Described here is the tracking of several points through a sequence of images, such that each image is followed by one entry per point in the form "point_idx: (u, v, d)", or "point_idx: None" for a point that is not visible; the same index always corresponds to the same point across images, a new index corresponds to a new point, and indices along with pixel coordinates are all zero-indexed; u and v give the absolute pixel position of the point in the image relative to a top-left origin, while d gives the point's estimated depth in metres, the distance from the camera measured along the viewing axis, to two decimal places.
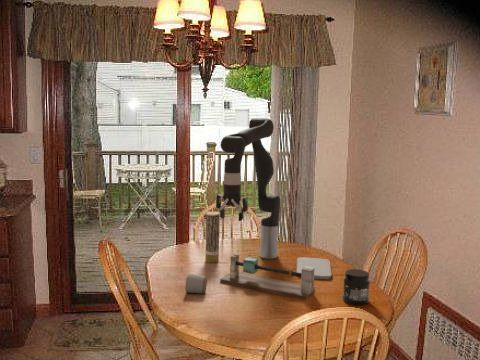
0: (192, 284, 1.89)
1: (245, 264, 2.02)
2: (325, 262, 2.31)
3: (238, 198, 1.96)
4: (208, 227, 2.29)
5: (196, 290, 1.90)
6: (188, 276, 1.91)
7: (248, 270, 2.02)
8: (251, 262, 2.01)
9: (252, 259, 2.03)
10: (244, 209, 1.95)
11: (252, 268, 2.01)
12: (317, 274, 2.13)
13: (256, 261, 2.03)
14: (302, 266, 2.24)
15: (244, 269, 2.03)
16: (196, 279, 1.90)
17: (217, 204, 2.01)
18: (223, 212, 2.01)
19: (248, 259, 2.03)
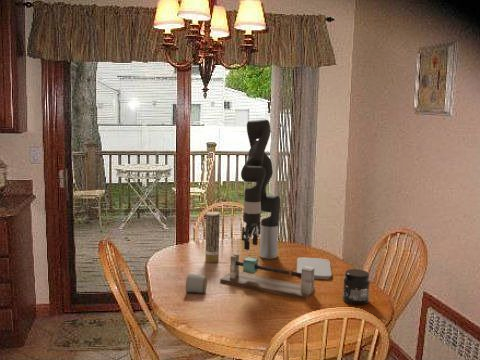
0: (192, 284, 1.89)
1: (245, 264, 2.02)
2: (325, 262, 2.31)
3: (257, 224, 2.04)
4: (208, 227, 2.29)
5: (196, 290, 1.90)
6: (188, 276, 1.91)
7: (248, 270, 2.02)
8: (251, 262, 2.01)
9: (252, 259, 2.03)
10: (259, 232, 2.07)
11: (252, 268, 2.01)
12: (317, 274, 2.13)
13: (256, 261, 2.03)
14: (302, 266, 2.24)
15: (244, 269, 2.03)
16: (196, 279, 1.90)
17: (247, 237, 1.96)
18: None
19: (248, 259, 2.03)
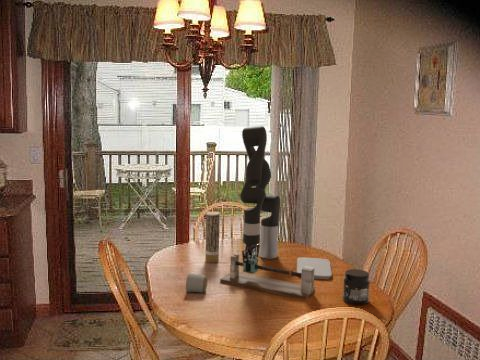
0: (192, 283, 1.90)
1: (245, 264, 2.02)
2: (325, 262, 2.31)
3: (256, 245, 2.06)
4: (208, 227, 2.29)
5: (196, 289, 1.90)
6: (188, 275, 1.92)
7: None
8: (251, 262, 2.01)
9: (252, 259, 2.03)
10: (257, 255, 2.07)
11: (252, 268, 2.01)
12: (318, 274, 2.13)
13: (256, 261, 2.03)
14: (302, 266, 2.24)
15: (244, 269, 2.03)
16: (196, 279, 1.91)
17: (248, 259, 1.98)
18: None
19: None
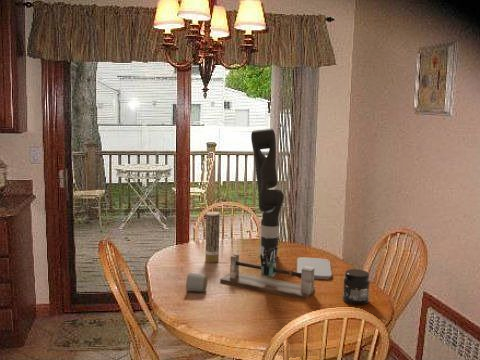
0: (193, 283, 1.91)
1: (263, 267, 1.99)
2: (325, 262, 2.31)
3: (274, 247, 2.02)
4: (208, 227, 2.29)
5: (197, 289, 1.91)
6: (189, 275, 1.92)
7: None
8: (269, 265, 1.97)
9: (270, 262, 2.00)
10: (275, 258, 2.04)
11: (270, 271, 1.97)
12: (318, 274, 2.13)
13: (274, 264, 1.99)
14: (302, 266, 2.24)
15: (262, 272, 1.99)
16: (196, 278, 1.91)
17: (266, 263, 1.94)
18: None
19: None
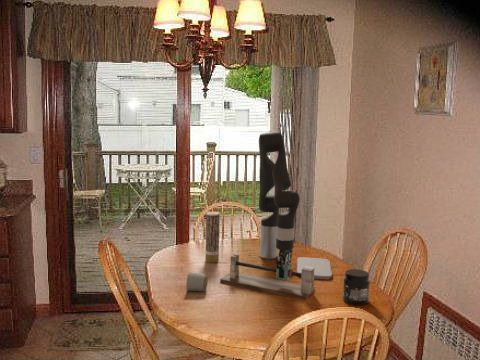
0: (193, 282, 1.91)
1: (278, 270, 1.96)
2: (325, 262, 2.31)
3: (289, 250, 1.99)
4: (208, 227, 2.29)
5: (197, 288, 1.92)
6: (189, 274, 1.93)
7: None
8: (285, 268, 1.94)
9: (285, 265, 1.96)
10: (290, 260, 2.00)
11: (286, 274, 1.94)
12: (318, 274, 2.13)
13: (289, 267, 1.96)
14: (302, 266, 2.24)
15: (277, 275, 1.96)
16: (197, 278, 1.92)
17: (282, 265, 1.91)
18: None
19: None
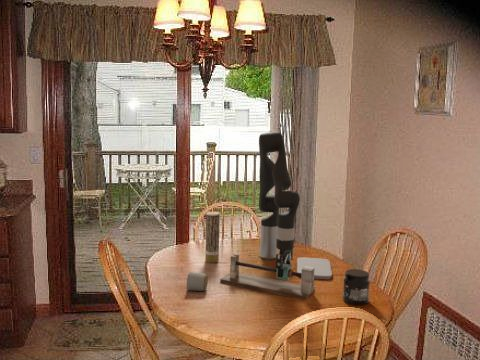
0: (193, 282, 1.92)
1: None
2: (325, 262, 2.31)
3: (289, 249, 1.99)
4: (208, 227, 2.29)
5: (197, 288, 1.92)
6: (189, 274, 1.93)
7: None
8: (285, 268, 1.94)
9: (285, 265, 1.96)
10: (292, 258, 2.02)
11: (286, 274, 1.94)
12: (318, 274, 2.13)
13: (289, 267, 1.96)
14: (302, 266, 2.24)
15: (277, 275, 1.96)
16: (197, 277, 1.92)
17: (281, 264, 1.90)
18: None
19: None
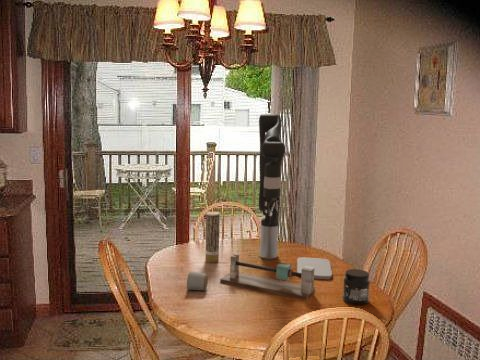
0: (193, 281, 1.92)
1: (278, 270, 1.96)
2: (325, 262, 2.31)
3: (276, 199, 2.09)
4: (208, 227, 2.29)
5: (197, 287, 1.92)
6: (189, 273, 1.94)
7: (281, 276, 1.95)
8: (285, 268, 1.94)
9: (285, 265, 1.96)
10: (279, 207, 2.12)
11: (286, 274, 1.94)
12: (318, 274, 2.13)
13: (289, 267, 1.96)
14: (302, 266, 2.24)
15: (277, 275, 1.96)
16: (197, 277, 1.93)
17: (268, 211, 2.00)
18: None
19: (281, 265, 1.96)
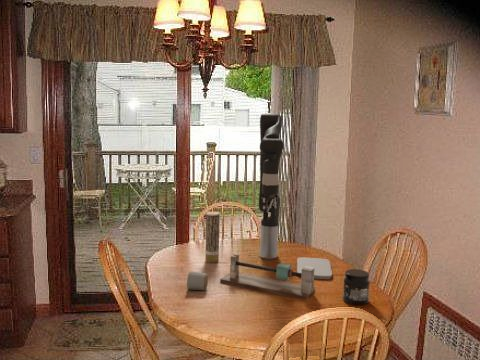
0: (193, 281, 1.92)
1: (278, 270, 1.96)
2: (325, 262, 2.31)
3: (275, 196, 2.10)
4: (208, 227, 2.29)
5: (197, 287, 1.93)
6: (190, 273, 1.94)
7: (281, 276, 1.95)
8: (285, 268, 1.94)
9: (285, 265, 1.96)
10: (277, 204, 2.13)
11: (286, 274, 1.94)
12: (318, 274, 2.13)
13: (289, 267, 1.96)
14: (302, 266, 2.24)
15: (277, 275, 1.96)
16: (197, 277, 1.93)
17: (266, 207, 2.01)
18: None
19: (281, 265, 1.96)
